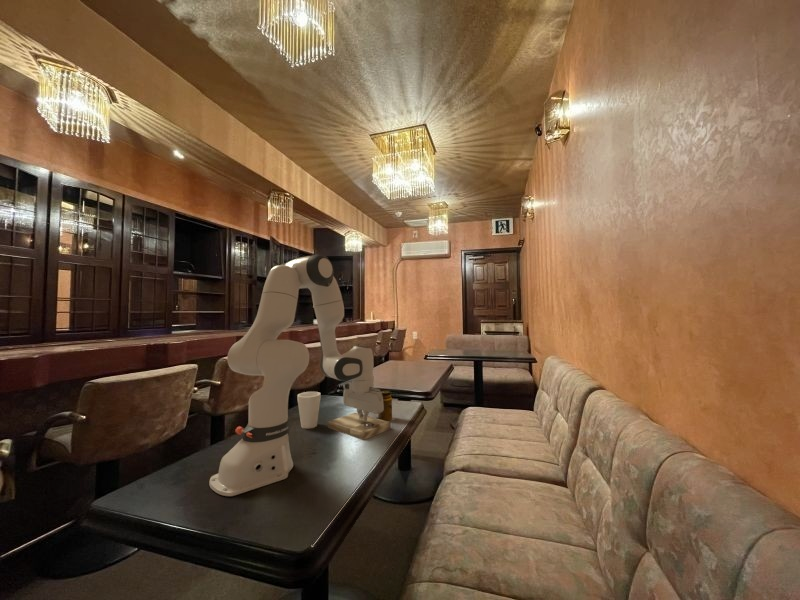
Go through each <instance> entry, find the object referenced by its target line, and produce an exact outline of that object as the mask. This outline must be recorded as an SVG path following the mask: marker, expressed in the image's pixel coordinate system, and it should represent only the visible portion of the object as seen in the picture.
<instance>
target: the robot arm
mask: <svg viewBox="0 0 800 600" xmlns="http://www.w3.org/2000/svg"><path fill="white" fill-rule="evenodd" d="M334 275H335V274H334V266H333V263H332V261H331V260H330V259H329V257H327V256H326V255H324V254H312V255H307V256H300V257H297V258H295V259H292V260H288V261H286V262H284V263H282V264H280V265H279V264H278V265H274V266H273V267H271V269H270V270H269V272H268V274H267V276H266V280H265V282H264V286H263V289H262V291H261V292H262V293H261V297H260V300H259V301H260V302H259V305H258V310H257V314H256V316H255V318H254V321H253V322H252V323H253V324H251V326H250V328H249V329H248V331H247V332H246V333H245V334H244V336H242V337H241V338H240V339H239V340H238V341H237V342H235V343H234V344H232V346H231V347H230V348H229V350H228V353H227V355H226V356H227V358H226V359H227V360H226V361H227V365H228V366H229V369H230V370H231V371H232V372H234V373H238V374H241V375H246V376H259V377H263V378H264V379H263V383H262V386H261V388H259V389H257V390H255V391H254V392H253V393H252V394H251V395H250V397H249V399H248V423H247V424H246V426H245V427H242V426H240V425H239V426H237V427H236V428H235V429H234V430H235V433H236V434H238V436H241V439H240V440H239V441H238V442H237V443H236V444H234V446H233V447H232V448H231V449H230V450H229V451H228V452H227V453H226V454H224V455H223V456H222V457H221V460H220V462H219V468H218V473H216V474H213V475H211V476H210V479H209V483H208V484H209V487H210V489H211V490H212V491H214V492H215V493H216V494H218V495H221V496H223V497H224V496H225V497H234V496H237V495H240V494H244V493H246V492H249V491H252V490H256V489H259V488H261V487H265V486H268V485H271V484H273V483H276V482H280V481H282V480H285V479H287V478H288V477H289V473H290V471H291V470H292V469H293V467H294V462H293V458H292V455H291V450H290V442H289V436H290V435H289V434H290V418H289V417H288V415H289V413H288V411H289V396H290V393H291V392H290V391H291V388H292V386H293V384H294V382H295V381H296V379H298V377H299V376H301V375H302V374H303V373H304V372H305V371H306V370H307V368H308V365H309V364H310V352H309V349H308V347H307V345H306V344H304V343H303V342H299V341H297V340H296V341H295V340H291V339H278V337H279V336H280V335H281V334H282V332H284V331H285V330H287V329H289V328H290V327H291V326H292V325H293V323H294V322H295V317H296V312H297V305H298V299H299V290H300V289H308V290H309V291H310V293H311V299H312V300H311V301H312V304H313V309H314V314H315V317H316V323H317V327H318V328H317V331H318V337H319V342H320V349H321V360H320V364H319V365H320V372H321V373H322V374H323V375H324V376H325V377H326V378H330V379H334V380H338V381H340V382H345V383H343V384H342V385H343V394H342V396H343V397H342V398H343V401H342V402H343V404H344V406H346V407H349V408H353V409H356V413H358V415H359V420H361V421H367V416H369V414H370V413H373V414H377V415H378V414H379V413H381V412H383V410H384V404H383V397H382V392H381V391H382V390H381V389H380V388H376V387H375V386H374V385H375V382H374V381H375V380H374V379H375V378H374V377H375V376H374V374H373V371H374V366H375V365H374V363H375V362H374V354H373V350H372V348H371V347H369V346H365V345H358V344H357V345H355V344H354V345H353V347H352V348H350V350H347V352H344V353H342V354H341V353H340V352H339V350H338V345H337V340H336V339H337V337H336V328H337V326H338V325H339V324H340V323H341V322H342V321H343V319H344V318H345V307H344V306H345V305H344V300H343V296H342V292H341V290H340V286H339V284H338V281H337V279H336V278H335V276H334Z"/></svg>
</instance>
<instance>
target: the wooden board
mask: <svg viewBox="0 0 800 600" xmlns="http://www.w3.org/2000/svg"><path fill="white" fill-rule="evenodd" d="M367 423H371V424H372V427H365V425H366V424H367ZM327 428H328V429H330V430H332V431H333V430H334V431H337V432H339V433H342V434H345V435H348V436H351V437H354V438H355V439H359V440H362V441H365V440H367V439H369V438H372V437H374V436H376V435H379V434H381V433H384V432H386V431H388V430H390V429H392V428H391V421H388V422H387V421H384V420H380V419H377V417H372V416H369V415H368V416H367V421H361V420H359V415H358V413H357V412H353V413H350V414H346V415H344V416H339V417H337V418H335V419H332V420H328V421H327Z"/></svg>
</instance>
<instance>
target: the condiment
mask: <svg viewBox="0 0 800 600" xmlns="http://www.w3.org/2000/svg"><path fill="white" fill-rule="evenodd" d="M380 391H381V392H382V397H383V404H384V410H383V412H381V413H379V414H377V415H378V416H377V417H376V418H377V419H380V420H384V421H387V422H391V421H395V420H396V418H395V417H393V398H392V391H390V390H380Z"/></svg>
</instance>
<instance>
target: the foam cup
mask: <svg viewBox="0 0 800 600" xmlns="http://www.w3.org/2000/svg"><path fill="white" fill-rule="evenodd" d="M296 396H297V397H296V398H297V405H298V406H297V407H298V414H299V418H300V419H299V420H300V426H301V428H302V429H307V430H309V429H314V428H315V427H317V426H318V419H319V412H320V404H321V399H322V398H321V397H322V396H321V392H318V391H306V392H305V391H303V392H301V393H298V394H297V395H296Z"/></svg>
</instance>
